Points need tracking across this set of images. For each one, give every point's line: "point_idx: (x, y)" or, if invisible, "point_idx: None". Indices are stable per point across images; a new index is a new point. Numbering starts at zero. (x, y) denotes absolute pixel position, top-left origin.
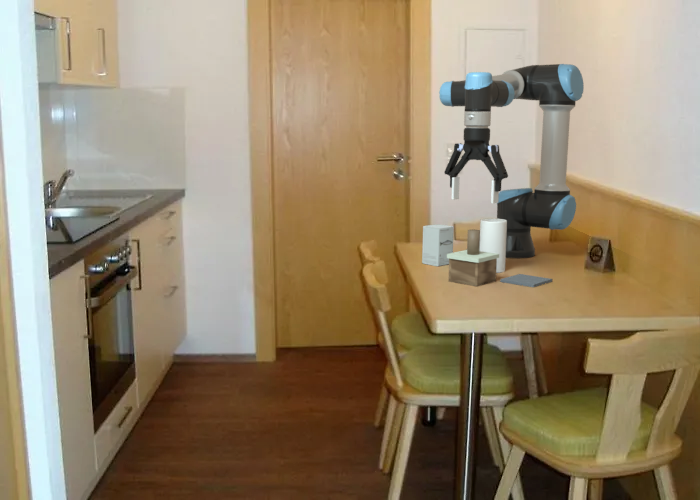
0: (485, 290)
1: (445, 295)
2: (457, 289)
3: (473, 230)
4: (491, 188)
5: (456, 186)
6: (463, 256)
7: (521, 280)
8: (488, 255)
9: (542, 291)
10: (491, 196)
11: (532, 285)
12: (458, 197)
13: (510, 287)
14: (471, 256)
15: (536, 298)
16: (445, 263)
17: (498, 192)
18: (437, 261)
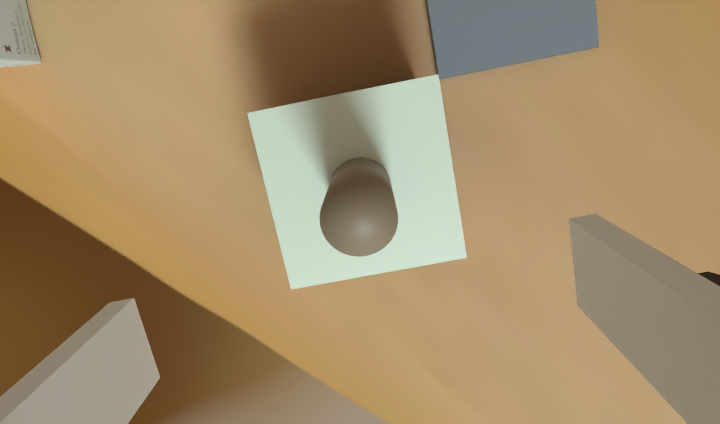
0: (504, 239)
1: (470, 394)
2: (430, 305)
3: (360, 224)
4: (655, 388)
5: (80, 421)
6: (382, 272)
7: (513, 22)
8: (437, 157)
9: (660, 75)
10: (612, 337)
11: (591, 47)
12: (130, 312)
13: (531, 124)
14: (406, 243)
15: (709, 188)
16: (25, 8)
17: (650, 248)
18: (24, 62)
